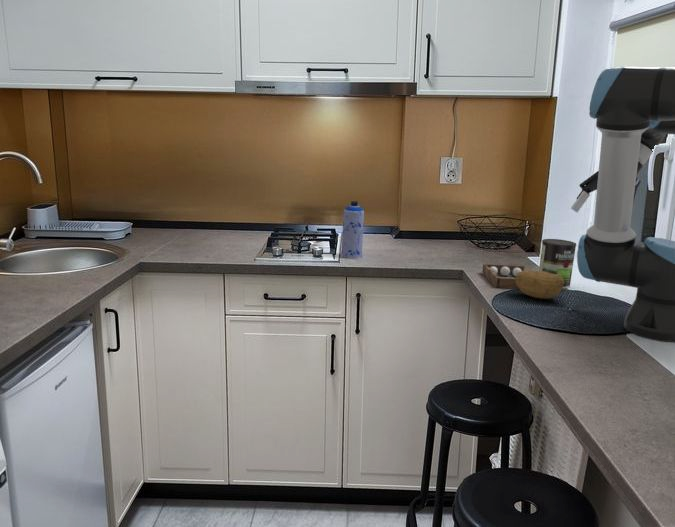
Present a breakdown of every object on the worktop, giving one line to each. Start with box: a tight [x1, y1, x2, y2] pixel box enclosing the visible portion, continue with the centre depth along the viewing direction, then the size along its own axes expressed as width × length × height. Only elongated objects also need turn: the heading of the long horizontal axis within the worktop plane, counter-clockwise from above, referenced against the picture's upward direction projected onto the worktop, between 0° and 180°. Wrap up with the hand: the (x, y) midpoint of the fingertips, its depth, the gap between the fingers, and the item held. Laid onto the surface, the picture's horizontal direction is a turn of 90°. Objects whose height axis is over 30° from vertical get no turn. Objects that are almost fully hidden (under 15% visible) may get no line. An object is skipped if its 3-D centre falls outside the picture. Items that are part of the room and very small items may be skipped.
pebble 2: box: [500, 266, 511, 277], centre depth 210 cm, size 3×3×3 cm
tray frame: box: [482, 263, 525, 290], centre depth 204 cm, size 19×14×3 cm
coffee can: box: [538, 238, 577, 290], centre depth 200 cm, size 10×10×14 cm
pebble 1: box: [490, 266, 498, 275], centre depth 210 cm, size 3×3×3 cm
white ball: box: [512, 268, 521, 277], centre depth 210 cm, size 3×3×3 cm
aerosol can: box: [340, 200, 365, 260], centre depth 225 cm, size 8×8×20 cm
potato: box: [514, 269, 564, 300], centre depth 185 cm, size 10×14×8 cm
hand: (588, 218), depth 192 cm, fingers open, 13 cm apart
